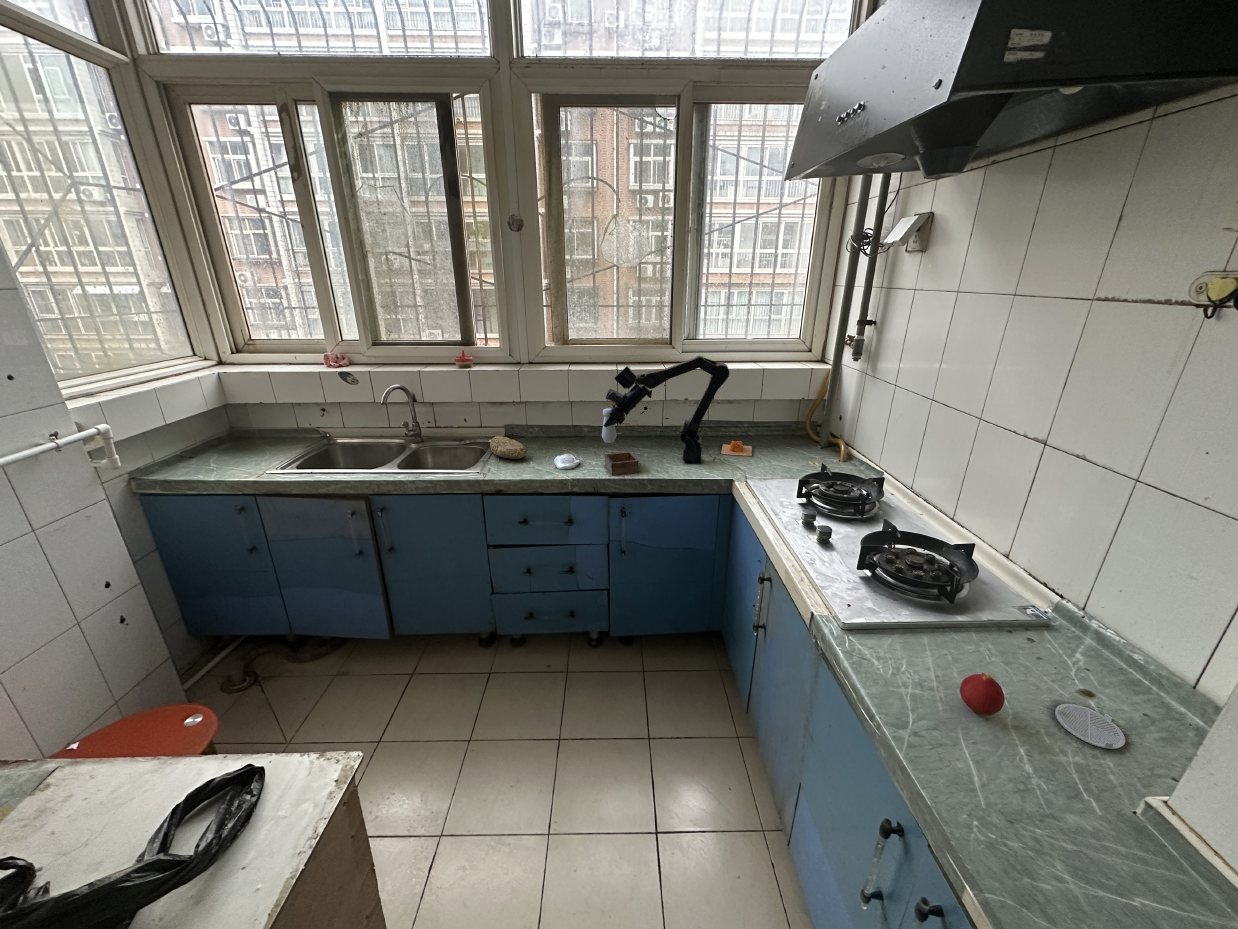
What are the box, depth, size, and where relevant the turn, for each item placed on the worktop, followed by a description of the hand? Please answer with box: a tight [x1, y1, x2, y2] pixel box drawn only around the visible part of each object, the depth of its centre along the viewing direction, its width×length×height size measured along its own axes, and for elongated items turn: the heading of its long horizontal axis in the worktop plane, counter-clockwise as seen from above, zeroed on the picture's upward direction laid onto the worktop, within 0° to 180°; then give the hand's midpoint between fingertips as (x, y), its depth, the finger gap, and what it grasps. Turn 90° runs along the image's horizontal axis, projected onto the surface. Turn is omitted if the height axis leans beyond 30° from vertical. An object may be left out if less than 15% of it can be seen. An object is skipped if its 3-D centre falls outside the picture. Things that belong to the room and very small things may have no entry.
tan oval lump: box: [489, 435, 527, 460], centre depth 199 cm, size 13×8×20 cm
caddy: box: [604, 451, 640, 476], centre depth 185 cm, size 10×10×5 cm
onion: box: [959, 672, 1006, 716], centre depth 81 cm, size 6×6×8 cm
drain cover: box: [1054, 703, 1126, 750], centre depth 79 cm, size 8×8×1 cm
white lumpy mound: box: [553, 453, 581, 470], centre depth 189 cm, size 10×4×10 cm
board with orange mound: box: [720, 440, 753, 457], centre depth 203 cm, size 12×12×4 cm
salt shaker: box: [601, 407, 618, 444], centre depth 193 cm, size 6×6×13 cm
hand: (605, 425), depth 193 cm, fingers closed on salt shaker, 3 cm apart
